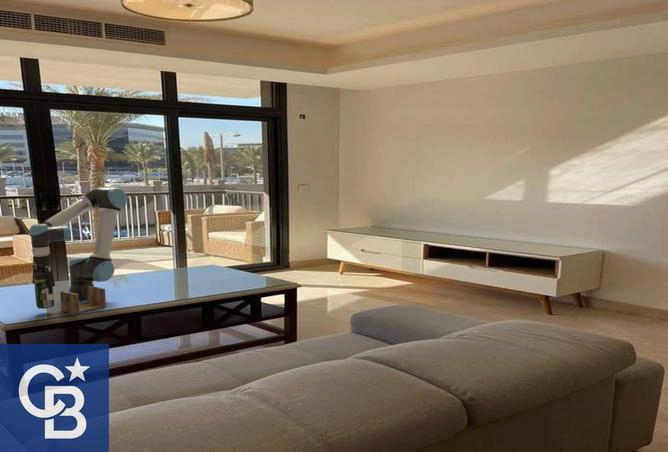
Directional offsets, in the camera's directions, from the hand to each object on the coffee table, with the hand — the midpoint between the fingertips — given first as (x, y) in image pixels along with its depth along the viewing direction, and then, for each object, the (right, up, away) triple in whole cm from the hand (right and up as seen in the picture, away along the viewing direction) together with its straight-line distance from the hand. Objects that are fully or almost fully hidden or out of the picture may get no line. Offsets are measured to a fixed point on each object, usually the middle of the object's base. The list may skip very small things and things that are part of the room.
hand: (44, 298), depth 257 cm
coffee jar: (0, -4, +1) cm, 4 cm away
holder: (+15, -7, +9) cm, 19 cm away
